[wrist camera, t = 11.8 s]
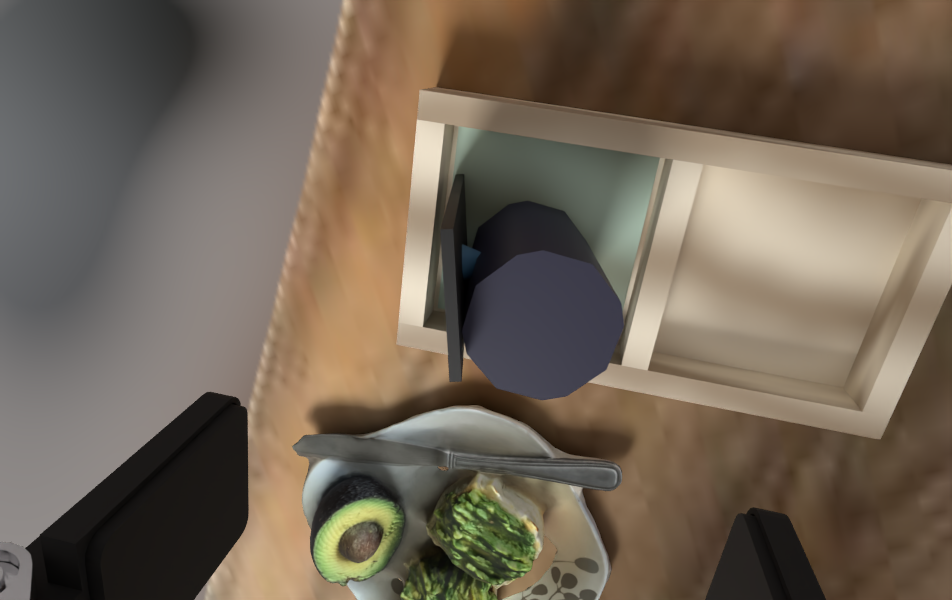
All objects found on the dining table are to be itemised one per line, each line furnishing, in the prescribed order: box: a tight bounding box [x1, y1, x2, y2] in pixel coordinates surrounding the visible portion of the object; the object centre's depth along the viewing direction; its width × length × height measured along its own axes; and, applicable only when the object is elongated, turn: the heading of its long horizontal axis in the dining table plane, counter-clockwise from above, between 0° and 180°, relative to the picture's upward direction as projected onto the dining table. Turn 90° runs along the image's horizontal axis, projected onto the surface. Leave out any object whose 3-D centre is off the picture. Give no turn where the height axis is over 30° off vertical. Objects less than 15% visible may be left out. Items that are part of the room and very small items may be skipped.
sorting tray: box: [397, 87, 952, 440], centre depth 28 cm, size 12×23×3 cm, turn 83°
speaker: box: [440, 174, 624, 400], centre depth 25 cm, size 8×6×10 cm
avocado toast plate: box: [292, 405, 622, 600], centre depth 35 cm, size 19×18×5 cm
